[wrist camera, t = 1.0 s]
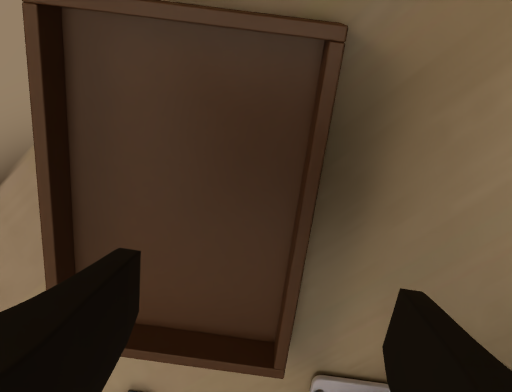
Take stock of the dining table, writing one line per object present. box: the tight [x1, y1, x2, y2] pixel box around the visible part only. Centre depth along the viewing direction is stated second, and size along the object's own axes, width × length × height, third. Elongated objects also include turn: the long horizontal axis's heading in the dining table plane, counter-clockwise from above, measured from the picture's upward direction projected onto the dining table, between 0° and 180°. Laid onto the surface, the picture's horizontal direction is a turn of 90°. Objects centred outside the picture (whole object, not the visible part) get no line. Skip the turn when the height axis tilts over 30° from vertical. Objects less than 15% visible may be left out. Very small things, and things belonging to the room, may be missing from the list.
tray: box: [22, 0, 348, 379], centre depth 21 cm, size 17×12×2 cm
